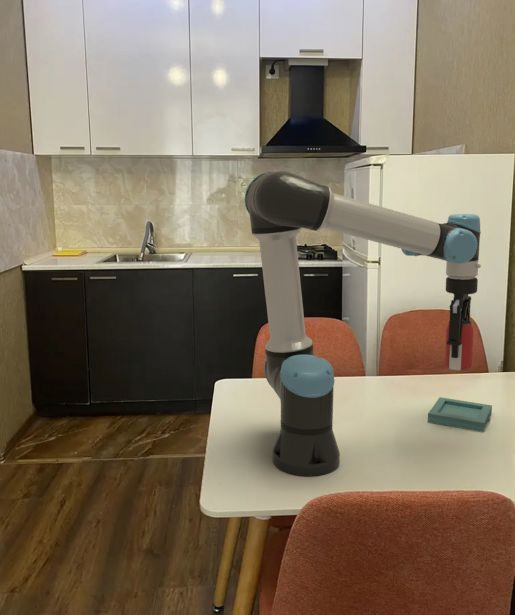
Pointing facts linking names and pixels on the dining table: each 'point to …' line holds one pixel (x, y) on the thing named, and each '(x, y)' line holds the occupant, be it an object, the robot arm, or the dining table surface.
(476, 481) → the dining table surface
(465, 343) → the beer can
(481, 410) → the coaster
